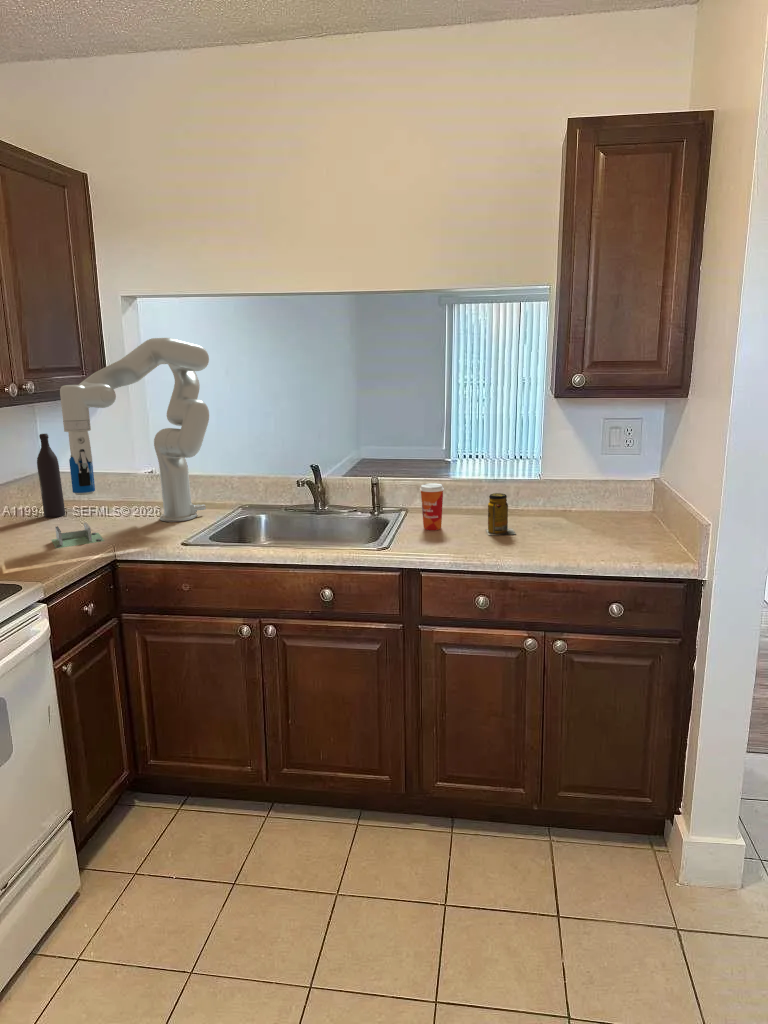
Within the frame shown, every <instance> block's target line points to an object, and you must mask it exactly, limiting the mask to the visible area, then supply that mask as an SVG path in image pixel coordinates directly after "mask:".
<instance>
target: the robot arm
mask: <svg viewBox="0 0 768 1024" xmlns="http://www.w3.org/2000/svg"><path fill="white" fill-rule="evenodd" d="M209 362H210V356H209V353H208V351H207V350H206V349H205V348H204V347H202V345H198V344H194V343H191V342H187V341H183V340H181V339H179V340H178V339H176V338H171V337H153V338H149V339H147V340H145V341H144V342H142V343H141V344H140V345H138V346H137V347H135V348H134V349H133V350H131V351H130V352H128V353H127V354H126V355H125V356H123V357H122V358H121V359H118V360H116V361H115V362H113V363H111V364H109V365H107V366H105V367H103V368H101V369H99V370H97V371H95V372H94V373H92V374H91V375H89V376H88V377H86V378H85V379H84V380H82V381H81V382H80V383H79V384H66V385H62V386H60V389H59V396H60V405H61V406H60V407H61V415H62V423H63V432H66V433H68V443H69V451H70V456H71V455H72V456H73V458H74V461H75V463H76V464H78V470H79V473H78V478H79V486H90V485H91V483H90V473H89V468H88V462H90V463H92V464H93V455H92V449H91V448H92V447H91V441H90V436H89V435H90V434H89V431H91V430H92V429H91V420H90V419H91V418H90V409H89V408H95V409H106V408H109V407H111V406H112V405H113V404H114V403H115V402H116V397H117V394H116V391H115V389H119V388H121V387H127V386H130V385H133V384H136V383H138V382H140V381H141V380H142V379H143V378H145V376H147V375H148V374H150V372H153V370H155V369H156V368H157V367H159V366H160V365H168V367H169V369H170V370H171V372H172V374H173V379H174V385H173V390H172V393H171V396H170V399H169V400H170V401H169V402H168V403H169V404H168V407H167V411H166V420H167V421H168V422H169V423H170V424H171V425H174V426H177V427H180V428H175V427H166V428H162V429H160V430H159V431H158V432H157V433H156V434H155V435H154V438H153V446H154V450H155V453H156V457H157V461H158V467H159V477H160V484H161V485H160V486H161V488H160V489H161V495H162V505H163V514H161V515H160V516H159V521H162V522H167V523H168V522H169V523H171V522H172V523H173V522H174V523H176V522H178V523H179V522H185V521H189V520H193V519H195V518H198V511H204V510H206V507H207V506H206V504H205V503H204V504H194V503H193V502H192V496H191V485H190V477H189V476H190V474H189V467H188V462H187V460H186V459H187V458H193V457H196V455H197V454H198V453H199V451H201V447H202V445H203V442H204V439H205V438H204V437H206V436H205V435H206V432H207V428H208V425H209V420H210V411H209V408H208V405H207V404H206V403H205V402H204V401H203V400H201V399H198V397H199V393H200V380H199V377H198V375H197V372H200V371H203V370H205V369H206V368H207V367H208V365H209ZM87 459H88V462H87ZM80 460H81V461H82V463H79V461H80ZM80 465H81V466H80Z"/></svg>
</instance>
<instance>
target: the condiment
mask: <svg viewBox="0 0 768 1024" xmlns="http://www.w3.org/2000/svg"><path fill="white" fill-rule="evenodd" d="M488 497H489V499H488V501H489V502H488V503H487V528H486V529H485V532H486V533H487V535H488V536H504V535H510V536H511V535H517V533H516V532H515V531H514V529H513V528H509V526H508V525H509V524H508V523H509V522H508V520H509V519H508V518H509V513H508V512H509V504H508V499H507V497H508V496H507V494H505V493H501V492H495V493H491V494H489V495H488Z"/></svg>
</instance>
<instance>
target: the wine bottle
mask: <svg viewBox="0 0 768 1024" xmlns="http://www.w3.org/2000/svg"><path fill="white" fill-rule="evenodd" d="M39 440H40V450H39V452H38V455H37V457H36V468H37V474H38V480H39V481H38V483H39V487H40V493H41V502H42V509H43V515H44V517H45V518H48V519H53V518H60V517H63V516H65V515H66V507H65V501H64V493H63V487H62V480H61V479H62V478H61V473H60V464H59V459H58V456H56V454H55V452H54V451H53V449H52V448H51V446H50V442H49V434H48V433H40V434H39Z"/></svg>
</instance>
